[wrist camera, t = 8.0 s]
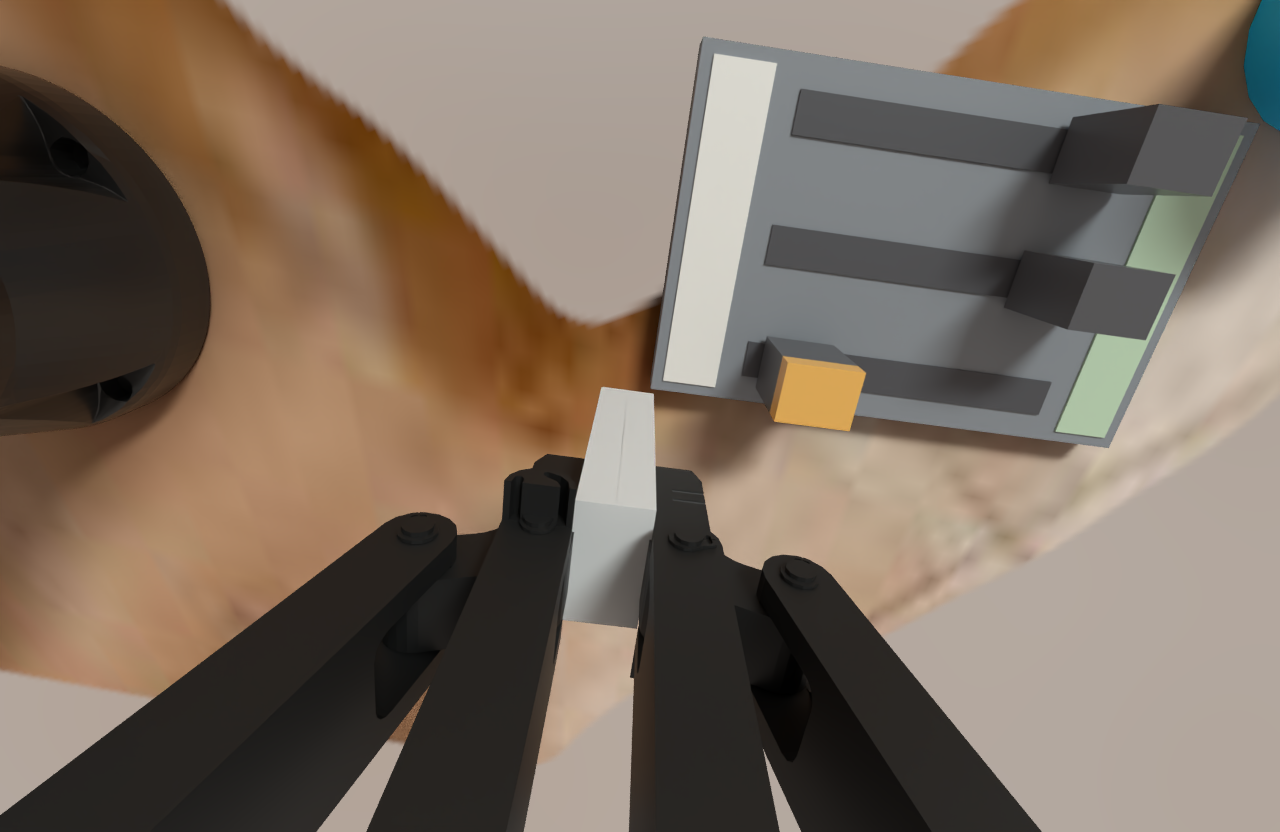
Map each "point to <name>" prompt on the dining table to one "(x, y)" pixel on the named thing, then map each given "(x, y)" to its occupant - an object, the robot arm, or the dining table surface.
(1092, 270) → the breaker
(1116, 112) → the block
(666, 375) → the panel
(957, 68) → the dining table surface
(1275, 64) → the mug
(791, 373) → the breaker
